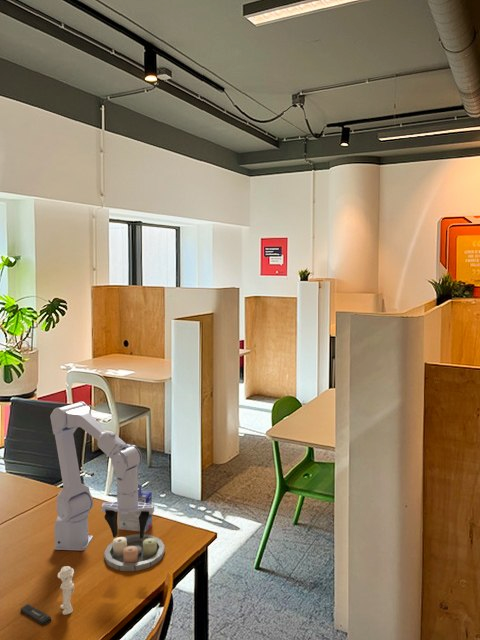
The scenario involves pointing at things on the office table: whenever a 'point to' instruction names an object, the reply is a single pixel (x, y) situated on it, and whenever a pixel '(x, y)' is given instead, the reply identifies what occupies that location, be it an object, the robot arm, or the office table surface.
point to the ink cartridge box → (136, 514)
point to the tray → (142, 561)
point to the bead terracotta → (130, 554)
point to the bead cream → (119, 546)
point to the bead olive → (149, 547)
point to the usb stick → (36, 614)
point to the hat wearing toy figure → (66, 588)
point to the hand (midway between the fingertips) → (128, 536)
